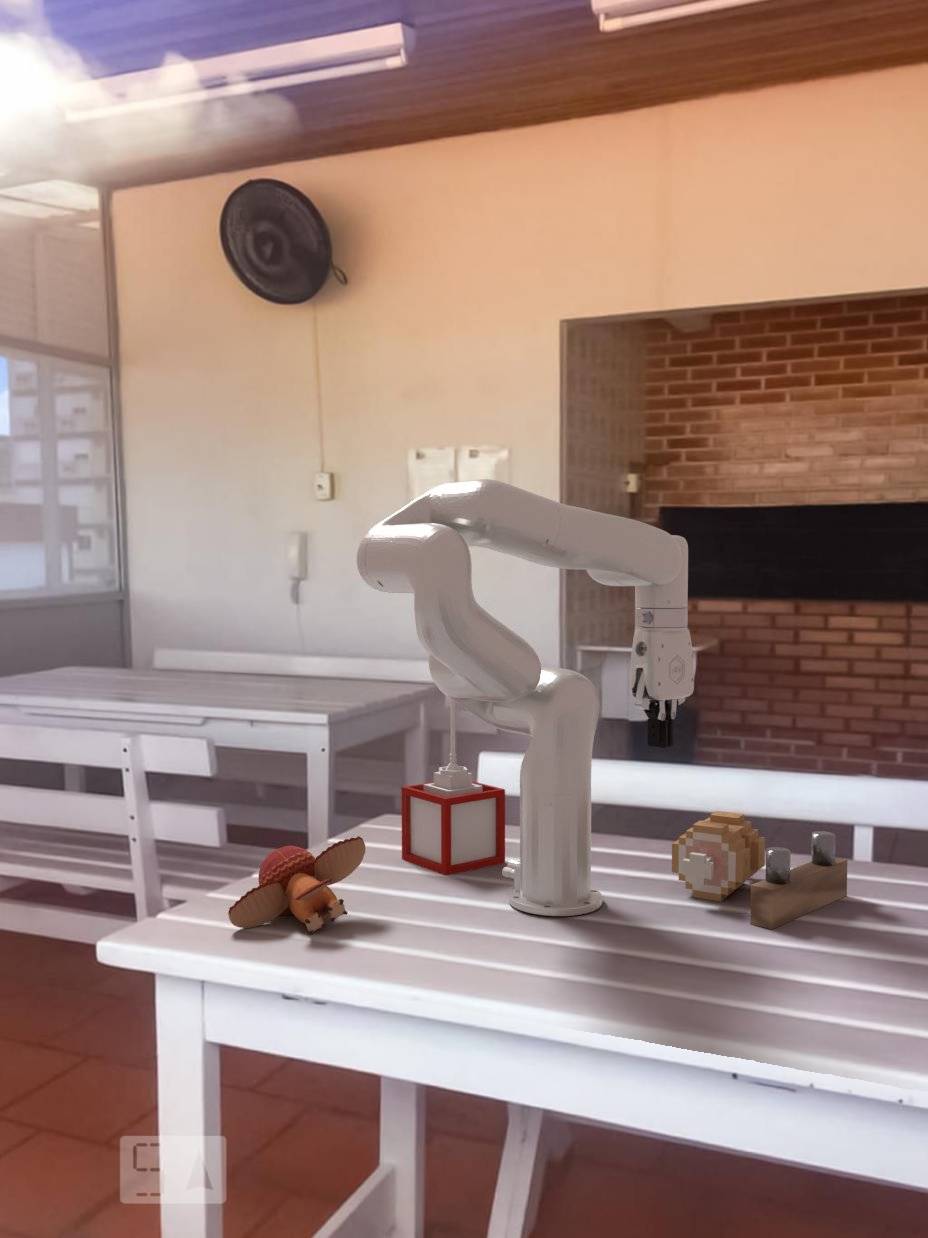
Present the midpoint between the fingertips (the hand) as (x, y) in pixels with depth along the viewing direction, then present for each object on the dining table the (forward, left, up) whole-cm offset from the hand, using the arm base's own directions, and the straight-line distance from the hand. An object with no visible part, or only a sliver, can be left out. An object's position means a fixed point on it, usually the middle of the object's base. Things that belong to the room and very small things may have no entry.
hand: (660, 745), depth 158 cm
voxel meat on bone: (+10, 0, -19) cm, 22 cm away
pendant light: (-27, -16, -19) cm, 37 cm away
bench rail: (+22, 0, -19) cm, 30 cm away
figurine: (-21, -50, -19) cm, 57 cm away
